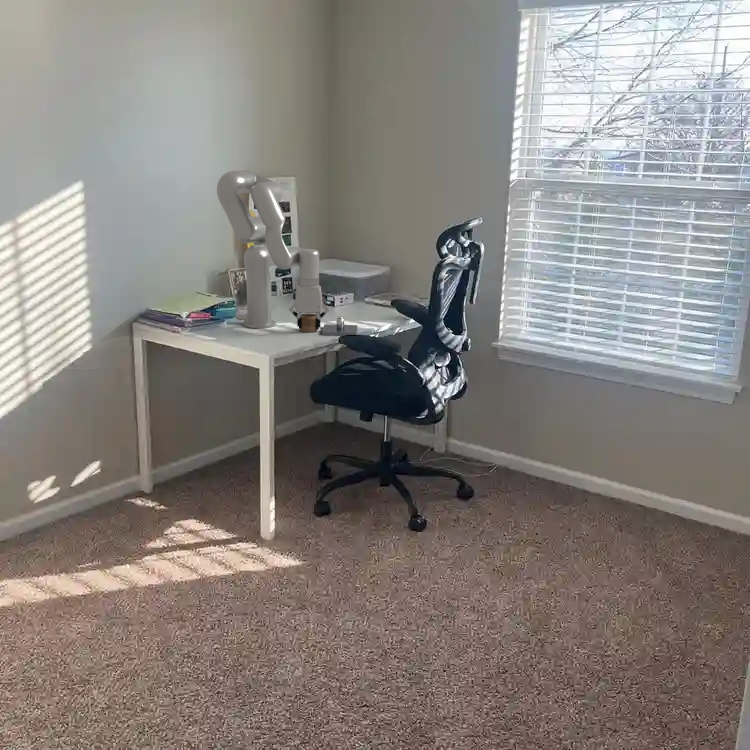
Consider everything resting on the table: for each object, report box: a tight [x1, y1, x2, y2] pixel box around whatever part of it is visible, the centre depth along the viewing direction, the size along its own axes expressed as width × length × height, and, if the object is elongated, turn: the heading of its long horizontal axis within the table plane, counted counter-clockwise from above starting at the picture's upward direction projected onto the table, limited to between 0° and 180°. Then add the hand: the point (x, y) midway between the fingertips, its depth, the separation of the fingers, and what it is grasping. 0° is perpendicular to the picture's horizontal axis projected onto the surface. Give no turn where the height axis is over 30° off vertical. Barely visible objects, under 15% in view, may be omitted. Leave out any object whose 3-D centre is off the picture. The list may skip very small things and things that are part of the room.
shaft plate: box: [321, 315, 358, 337], centre depth 316 cm, size 13×13×6 cm
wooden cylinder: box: [300, 313, 318, 334], centre depth 316 cm, size 6×6×6 cm
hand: (308, 328), depth 316 cm, fingers closed on wooden cylinder, 6 cm apart
